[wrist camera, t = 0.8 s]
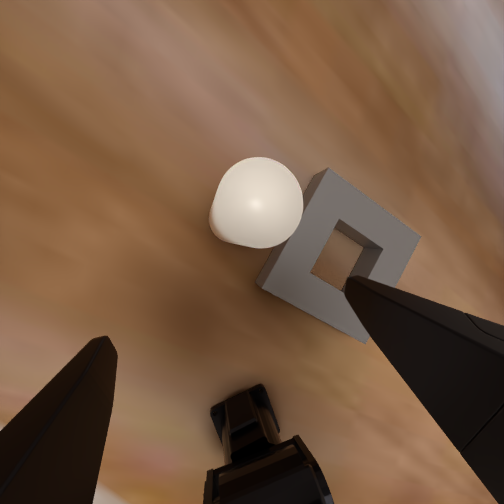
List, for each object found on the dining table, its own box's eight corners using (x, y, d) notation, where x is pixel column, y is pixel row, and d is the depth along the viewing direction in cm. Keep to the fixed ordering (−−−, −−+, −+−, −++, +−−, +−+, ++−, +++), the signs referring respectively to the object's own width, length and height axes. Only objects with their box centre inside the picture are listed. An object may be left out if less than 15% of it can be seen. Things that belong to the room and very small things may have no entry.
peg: (260, 234, 25) (313, 232, 13) (217, 249, 24) (233, 260, 12) (246, 190, 24) (288, 146, 13) (201, 203, 23) (202, 170, 12)
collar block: (348, 333, 28) (365, 344, 25) (254, 282, 25) (261, 288, 22) (399, 236, 29) (421, 236, 26) (314, 175, 26) (328, 167, 23)
